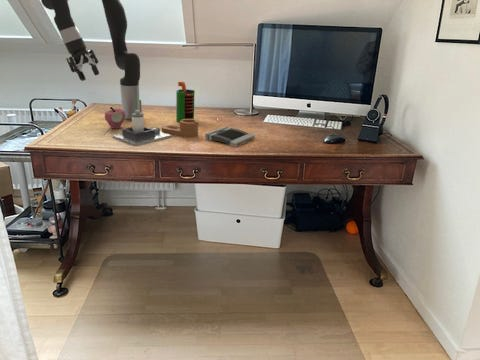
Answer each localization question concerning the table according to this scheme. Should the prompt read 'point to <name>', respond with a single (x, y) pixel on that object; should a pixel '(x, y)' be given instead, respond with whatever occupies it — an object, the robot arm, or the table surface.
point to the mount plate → (141, 136)
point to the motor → (184, 103)
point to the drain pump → (137, 122)
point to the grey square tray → (229, 136)
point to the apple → (115, 117)
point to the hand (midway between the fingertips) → (90, 77)
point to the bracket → (183, 128)
